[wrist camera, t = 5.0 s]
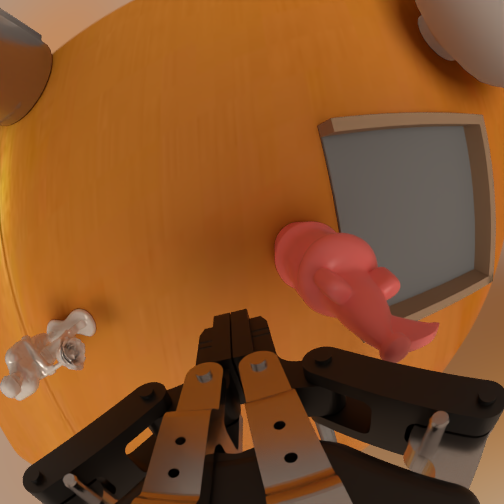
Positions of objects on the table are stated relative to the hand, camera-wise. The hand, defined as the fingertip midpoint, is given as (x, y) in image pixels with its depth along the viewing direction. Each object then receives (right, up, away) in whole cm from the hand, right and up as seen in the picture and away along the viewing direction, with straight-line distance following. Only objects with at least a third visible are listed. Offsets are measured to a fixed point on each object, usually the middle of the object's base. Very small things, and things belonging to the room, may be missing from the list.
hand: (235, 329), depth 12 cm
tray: (+16, +7, +10) cm, 20 cm away
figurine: (-16, -3, +10) cm, 19 cm away
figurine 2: (+4, +4, +10) cm, 12 cm away
